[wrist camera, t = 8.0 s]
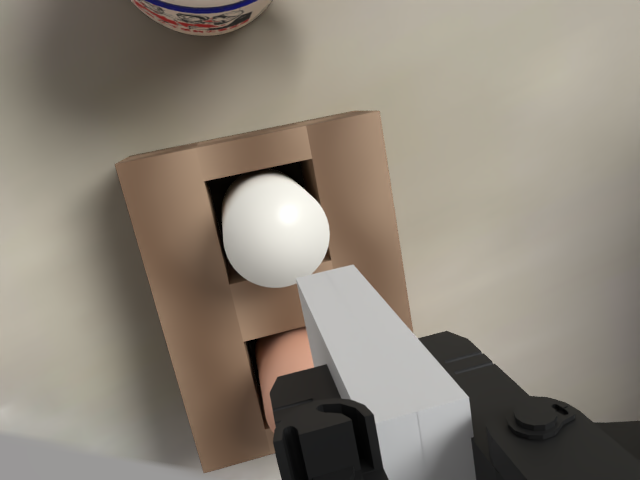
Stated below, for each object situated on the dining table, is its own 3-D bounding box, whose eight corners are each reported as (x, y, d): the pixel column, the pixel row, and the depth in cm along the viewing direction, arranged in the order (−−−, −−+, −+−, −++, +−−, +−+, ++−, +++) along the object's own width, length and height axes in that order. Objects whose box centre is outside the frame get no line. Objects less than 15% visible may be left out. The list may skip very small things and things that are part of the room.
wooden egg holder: (355, 110, 29) (379, 110, 25) (397, 371, 33) (425, 410, 29) (130, 155, 27) (114, 164, 23) (205, 424, 32) (204, 473, 27)
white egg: (297, 160, 28) (319, 173, 22) (313, 241, 29) (337, 274, 23) (212, 178, 27) (211, 196, 21) (232, 260, 28) (236, 298, 22)
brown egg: (325, 303, 30) (352, 349, 24) (339, 373, 31) (367, 433, 25) (247, 322, 29) (255, 374, 23) (264, 393, 30) (276, 459, 25)
